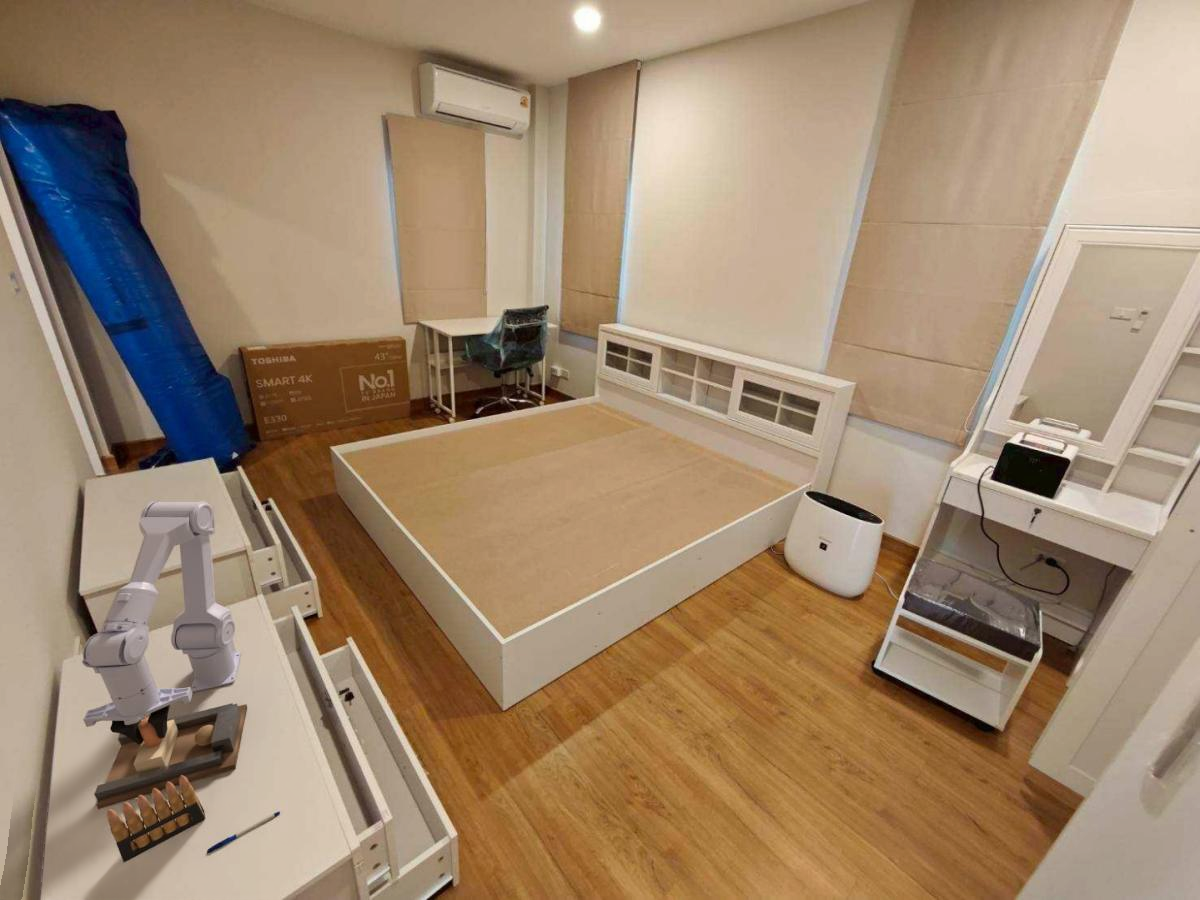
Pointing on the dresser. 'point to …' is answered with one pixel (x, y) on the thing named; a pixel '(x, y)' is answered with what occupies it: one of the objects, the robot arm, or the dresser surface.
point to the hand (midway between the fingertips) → (152, 736)
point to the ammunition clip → (155, 819)
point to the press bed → (179, 755)
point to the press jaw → (154, 747)
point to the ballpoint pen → (240, 833)
